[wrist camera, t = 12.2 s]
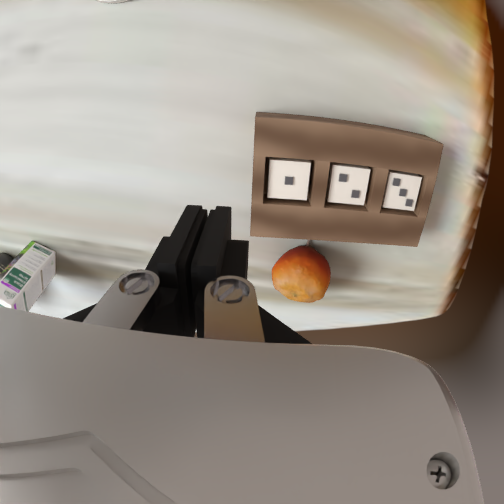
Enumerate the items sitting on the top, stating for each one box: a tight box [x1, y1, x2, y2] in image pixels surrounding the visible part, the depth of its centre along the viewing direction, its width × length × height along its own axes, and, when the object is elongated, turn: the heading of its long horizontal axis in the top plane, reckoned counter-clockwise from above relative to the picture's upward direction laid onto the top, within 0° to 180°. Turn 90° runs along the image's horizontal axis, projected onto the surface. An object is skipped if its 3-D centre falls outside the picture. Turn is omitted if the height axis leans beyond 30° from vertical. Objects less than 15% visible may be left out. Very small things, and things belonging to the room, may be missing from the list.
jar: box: [0, 253, 14, 274], centre depth 46 cm, size 10×10×8 cm
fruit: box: [272, 239, 331, 303], centre depth 42 cm, size 8×8×8 cm
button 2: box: [326, 162, 370, 205], centre depth 35 cm, size 4×4×2 cm
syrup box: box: [0, 241, 56, 312], centre depth 40 cm, size 6×6×14 cm
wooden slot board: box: [250, 112, 443, 247], centre depth 35 cm, size 14×22×5 cm, turn 88°
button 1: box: [267, 157, 311, 200], centre depth 35 cm, size 4×4×2 cm
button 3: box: [381, 169, 422, 211], centre depth 34 cm, size 4×4×2 cm
